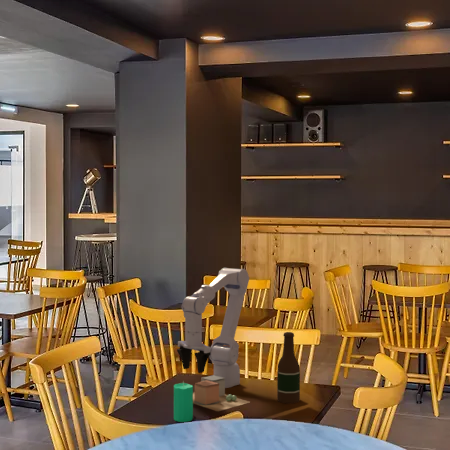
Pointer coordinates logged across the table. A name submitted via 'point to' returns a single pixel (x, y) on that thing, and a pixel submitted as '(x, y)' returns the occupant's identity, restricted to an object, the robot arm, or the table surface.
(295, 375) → the beer bottle
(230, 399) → the three marbles
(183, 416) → the candle
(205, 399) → the small tan cube
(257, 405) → the table surface
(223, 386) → the grey square box
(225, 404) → the board
